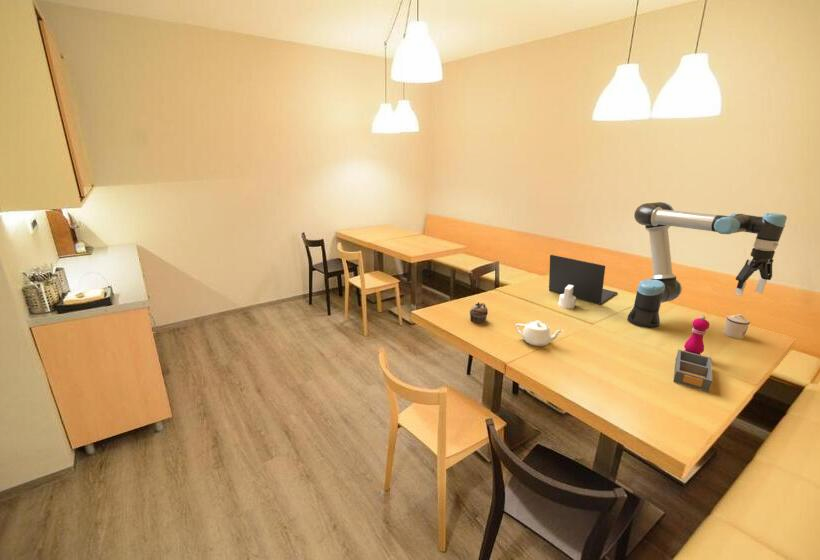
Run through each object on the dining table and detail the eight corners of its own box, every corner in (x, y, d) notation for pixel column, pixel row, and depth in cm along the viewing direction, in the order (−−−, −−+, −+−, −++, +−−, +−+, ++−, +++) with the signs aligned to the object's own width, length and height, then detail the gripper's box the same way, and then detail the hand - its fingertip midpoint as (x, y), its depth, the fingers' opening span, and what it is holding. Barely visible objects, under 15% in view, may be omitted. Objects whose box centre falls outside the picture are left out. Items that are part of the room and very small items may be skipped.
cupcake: (486, 316, 209) (487, 300, 206) (487, 324, 200) (489, 307, 197) (468, 315, 210) (469, 299, 207) (469, 323, 201) (470, 306, 197)
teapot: (511, 342, 181) (513, 322, 177) (516, 331, 193) (518, 312, 189) (559, 353, 172) (563, 332, 168) (562, 340, 184) (565, 320, 180)
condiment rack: (673, 382, 151) (676, 371, 150) (675, 359, 169) (678, 349, 167) (708, 392, 145) (712, 381, 143) (707, 367, 162) (710, 357, 161)
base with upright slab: (560, 301, 233) (563, 283, 229) (575, 305, 228) (579, 286, 224) (556, 306, 226) (559, 287, 222) (572, 309, 221) (575, 290, 217)
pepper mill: (678, 352, 175) (689, 312, 168) (692, 351, 175) (704, 312, 169) (690, 360, 168) (702, 319, 162) (705, 360, 169) (717, 319, 162)
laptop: (617, 294, 248) (625, 255, 240) (596, 308, 225) (604, 265, 217) (567, 281, 271) (573, 246, 262) (544, 293, 248) (550, 254, 239)
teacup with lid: (746, 341, 187) (754, 319, 183) (723, 336, 191) (730, 315, 187) (741, 331, 197) (748, 311, 193) (719, 327, 201) (725, 307, 197)
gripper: (754, 252, 159) (738, 299, 166) (792, 249, 166) (776, 294, 173) (735, 248, 166) (720, 293, 173) (773, 245, 173) (757, 288, 180)
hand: (748, 293), depth 173 cm, fingers open, 13 cm apart
